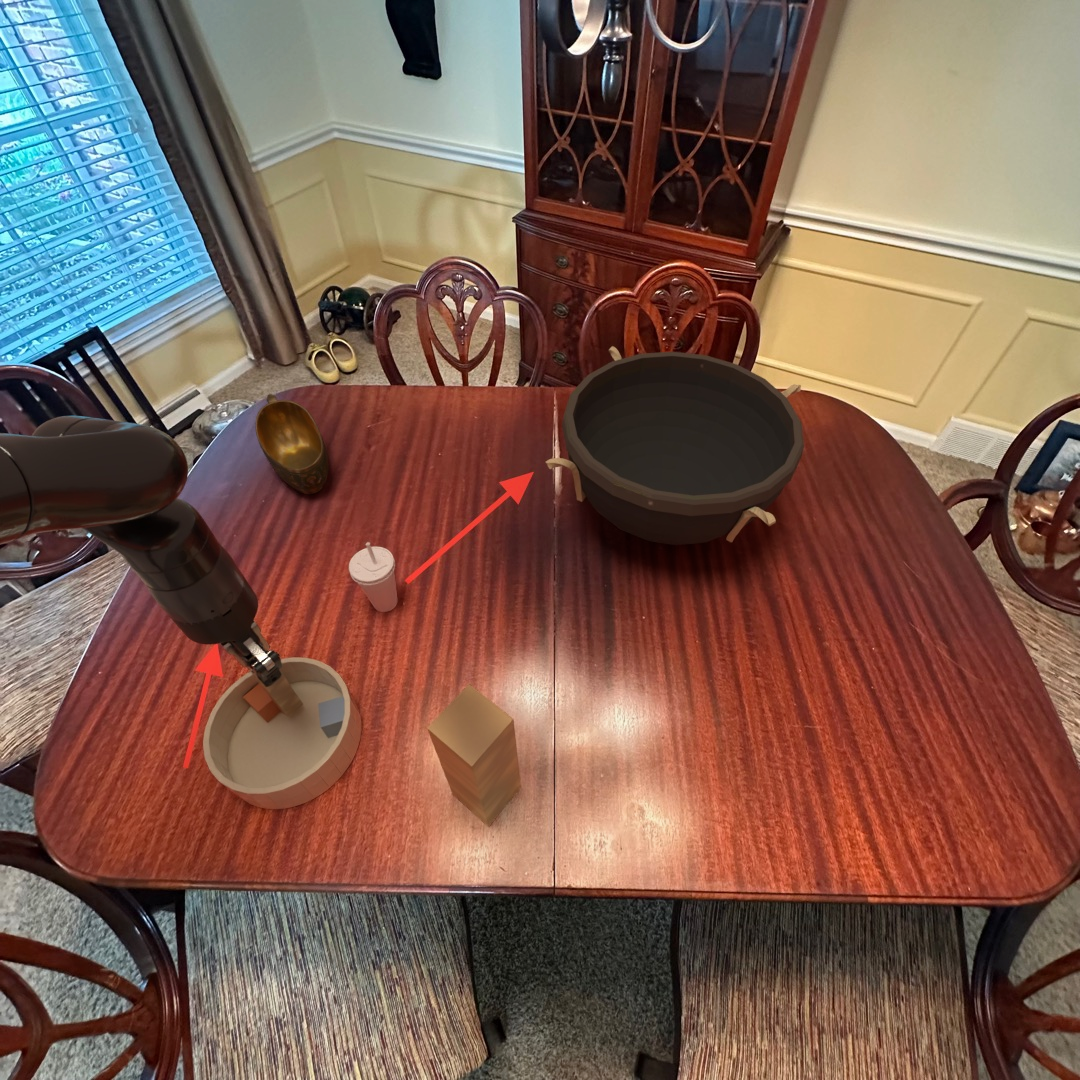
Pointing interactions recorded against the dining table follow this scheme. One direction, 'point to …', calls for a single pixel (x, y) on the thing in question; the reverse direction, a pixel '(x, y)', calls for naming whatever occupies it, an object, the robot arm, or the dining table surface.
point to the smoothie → (375, 576)
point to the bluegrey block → (332, 716)
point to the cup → (292, 444)
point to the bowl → (680, 445)
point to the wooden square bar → (282, 695)
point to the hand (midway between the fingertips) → (265, 672)
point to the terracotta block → (262, 703)
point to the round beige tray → (281, 739)
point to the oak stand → (477, 753)
